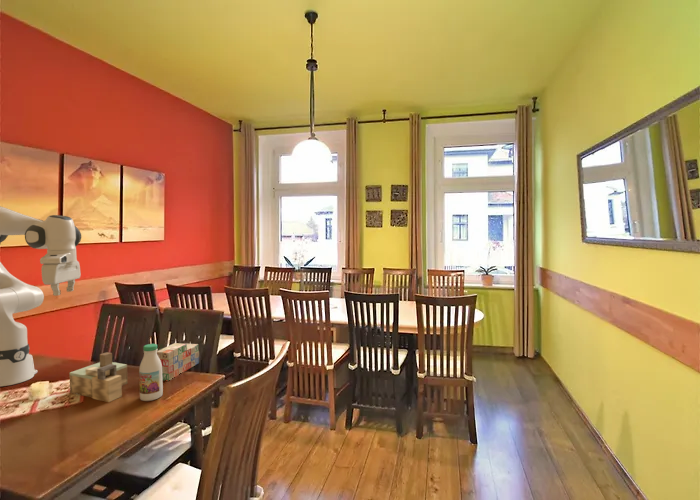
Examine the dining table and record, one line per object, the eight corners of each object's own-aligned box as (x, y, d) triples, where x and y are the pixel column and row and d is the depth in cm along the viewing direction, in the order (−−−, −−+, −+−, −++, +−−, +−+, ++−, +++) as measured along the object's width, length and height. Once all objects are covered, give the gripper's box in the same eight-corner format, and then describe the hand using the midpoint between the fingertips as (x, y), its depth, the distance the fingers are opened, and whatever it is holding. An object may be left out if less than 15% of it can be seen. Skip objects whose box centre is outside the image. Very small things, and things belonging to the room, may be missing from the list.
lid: (69, 375, 142) (69, 359, 142) (104, 363, 155) (103, 349, 155) (93, 379, 138) (93, 364, 138) (127, 366, 151) (126, 352, 151)
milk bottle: (146, 392, 143) (145, 342, 142) (166, 392, 143) (165, 342, 142) (135, 401, 136) (134, 348, 135) (156, 401, 136) (155, 348, 135)
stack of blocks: (187, 362, 176) (187, 337, 176) (199, 363, 175) (199, 337, 175) (155, 379, 156) (155, 351, 155) (168, 381, 154) (168, 352, 154)
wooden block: (85, 374, 140) (85, 369, 140) (92, 371, 143) (92, 366, 143) (102, 377, 137) (102, 372, 137) (109, 374, 140) (109, 369, 140)
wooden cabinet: (68, 393, 142) (67, 363, 141) (104, 379, 156) (103, 351, 155) (108, 402, 135) (108, 370, 134) (143, 386, 149) (142, 357, 148)
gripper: (67, 256, 150) (68, 289, 151) (36, 259, 130) (38, 298, 131) (84, 255, 152) (85, 288, 152) (57, 259, 132) (58, 297, 132)
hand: (63, 293), depth 141 cm, fingers open, 8 cm apart
